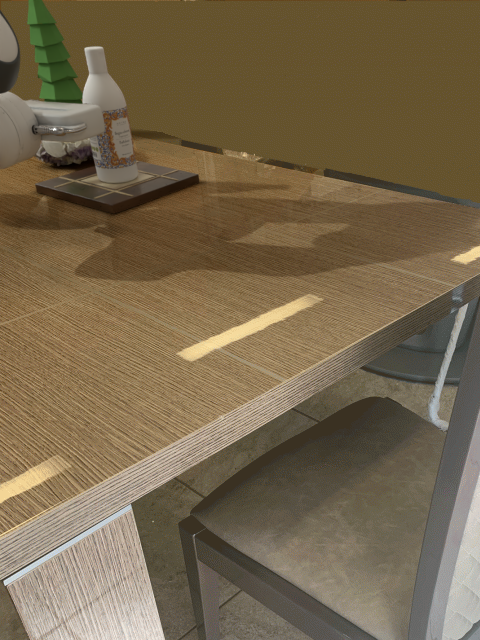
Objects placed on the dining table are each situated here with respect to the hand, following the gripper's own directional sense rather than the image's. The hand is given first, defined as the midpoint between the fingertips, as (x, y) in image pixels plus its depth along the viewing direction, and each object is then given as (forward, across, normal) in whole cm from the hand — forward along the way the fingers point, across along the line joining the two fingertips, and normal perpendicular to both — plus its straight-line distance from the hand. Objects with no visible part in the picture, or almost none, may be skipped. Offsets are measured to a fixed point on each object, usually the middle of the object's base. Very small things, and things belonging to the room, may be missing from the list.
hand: (64, 107), depth 97 cm
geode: (+23, +18, +15) cm, 33 cm away
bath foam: (+10, 0, +14) cm, 17 cm away
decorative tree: (+42, +30, +15) cm, 54 cm away
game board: (+10, 0, +15) cm, 18 cm away
